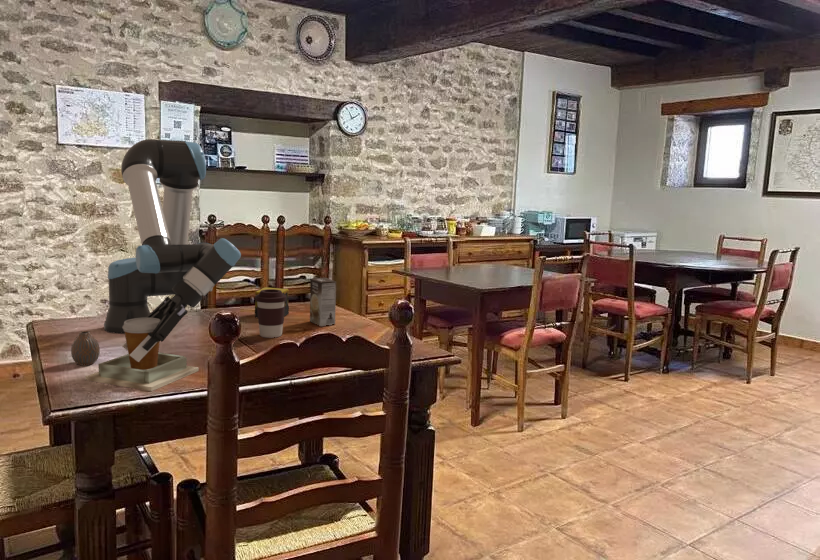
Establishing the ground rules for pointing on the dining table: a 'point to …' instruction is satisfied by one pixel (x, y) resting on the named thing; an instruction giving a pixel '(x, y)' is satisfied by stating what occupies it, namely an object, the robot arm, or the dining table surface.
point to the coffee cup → (270, 312)
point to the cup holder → (143, 372)
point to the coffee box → (322, 301)
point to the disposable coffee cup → (135, 335)
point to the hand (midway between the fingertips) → (130, 353)
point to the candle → (285, 292)
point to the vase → (85, 349)
